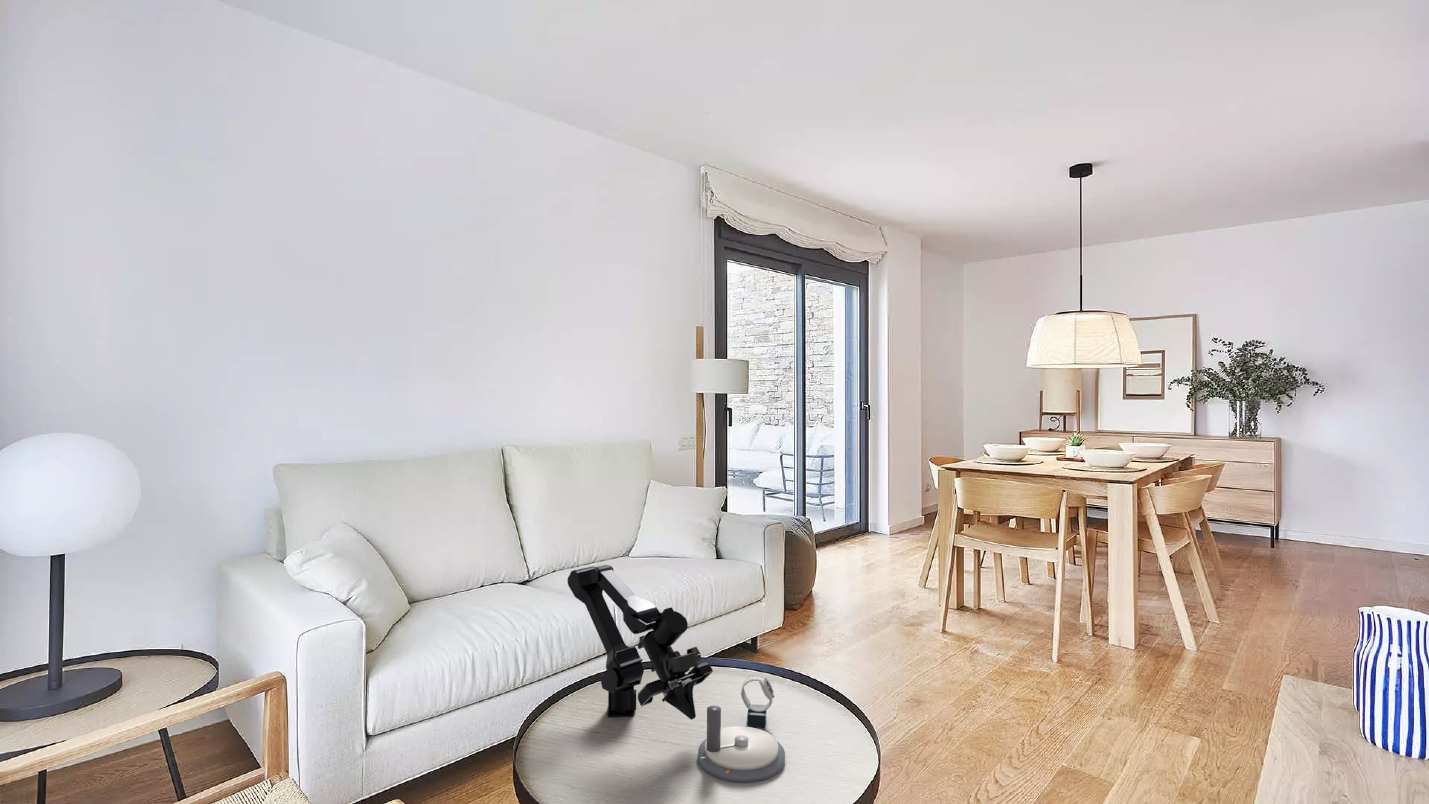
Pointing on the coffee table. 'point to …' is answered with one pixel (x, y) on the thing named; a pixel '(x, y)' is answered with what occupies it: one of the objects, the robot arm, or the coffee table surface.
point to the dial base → (741, 775)
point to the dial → (738, 745)
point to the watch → (757, 712)
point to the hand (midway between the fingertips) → (693, 718)
